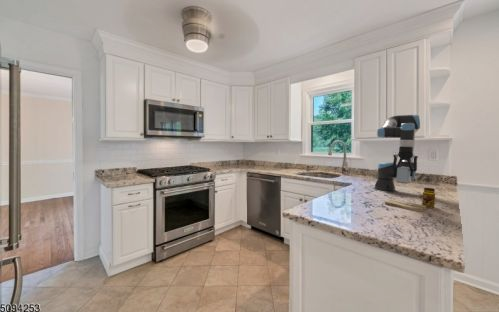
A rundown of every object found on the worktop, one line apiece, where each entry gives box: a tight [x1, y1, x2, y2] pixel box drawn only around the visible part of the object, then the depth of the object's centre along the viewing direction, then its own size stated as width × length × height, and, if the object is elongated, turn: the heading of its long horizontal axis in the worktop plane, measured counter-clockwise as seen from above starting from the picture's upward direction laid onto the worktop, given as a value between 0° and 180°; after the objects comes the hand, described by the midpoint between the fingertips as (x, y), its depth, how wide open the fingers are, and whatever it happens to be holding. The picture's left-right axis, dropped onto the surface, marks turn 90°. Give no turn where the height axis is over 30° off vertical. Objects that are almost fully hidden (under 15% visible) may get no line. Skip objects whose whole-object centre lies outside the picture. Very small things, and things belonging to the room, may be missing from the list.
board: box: [384, 198, 427, 213], centre depth 139 cm, size 12×19×2 cm, turn 40°
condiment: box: [418, 187, 438, 210], centre depth 139 cm, size 7×8×12 cm
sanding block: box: [395, 167, 412, 185], centre depth 149 cm, size 8×6×10 cm
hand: (403, 180), depth 150 cm, fingers closed on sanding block, 6 cm apart
